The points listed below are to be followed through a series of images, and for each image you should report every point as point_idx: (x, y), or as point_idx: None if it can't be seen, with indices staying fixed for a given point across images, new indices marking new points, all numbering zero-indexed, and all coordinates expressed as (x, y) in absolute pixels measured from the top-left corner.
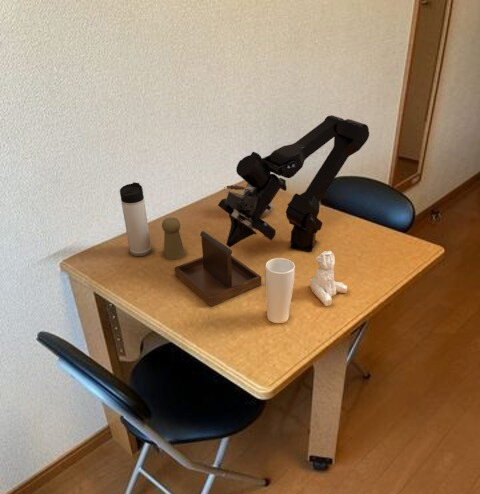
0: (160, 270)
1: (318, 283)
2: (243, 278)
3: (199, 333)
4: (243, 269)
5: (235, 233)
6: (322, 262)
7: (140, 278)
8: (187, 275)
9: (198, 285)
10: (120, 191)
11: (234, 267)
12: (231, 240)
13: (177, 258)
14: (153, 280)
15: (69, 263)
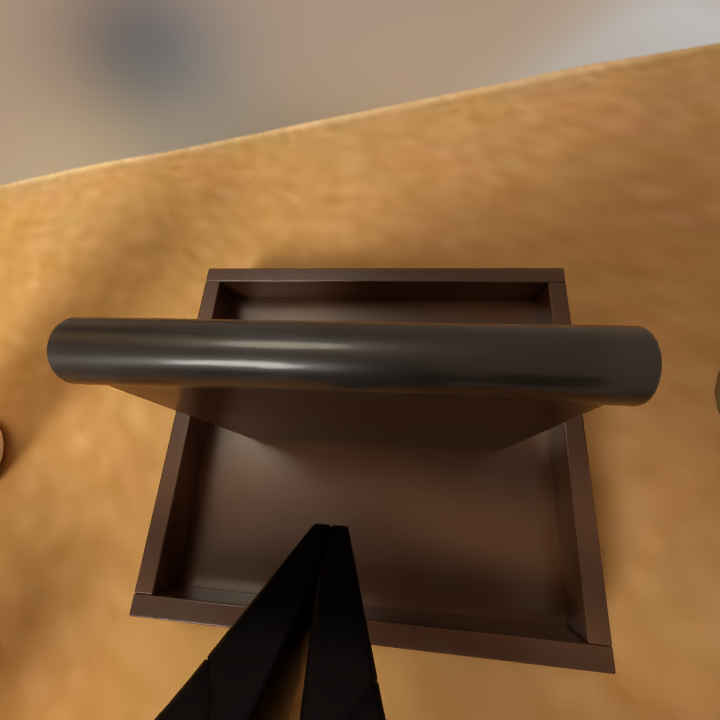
0: (634, 266)
1: None
2: (260, 545)
3: (156, 192)
4: None
5: (211, 695)
6: None
7: (612, 176)
8: (487, 321)
9: (328, 277)
10: None
11: (392, 591)
12: (272, 575)
13: (717, 390)
14: (563, 209)
15: None
